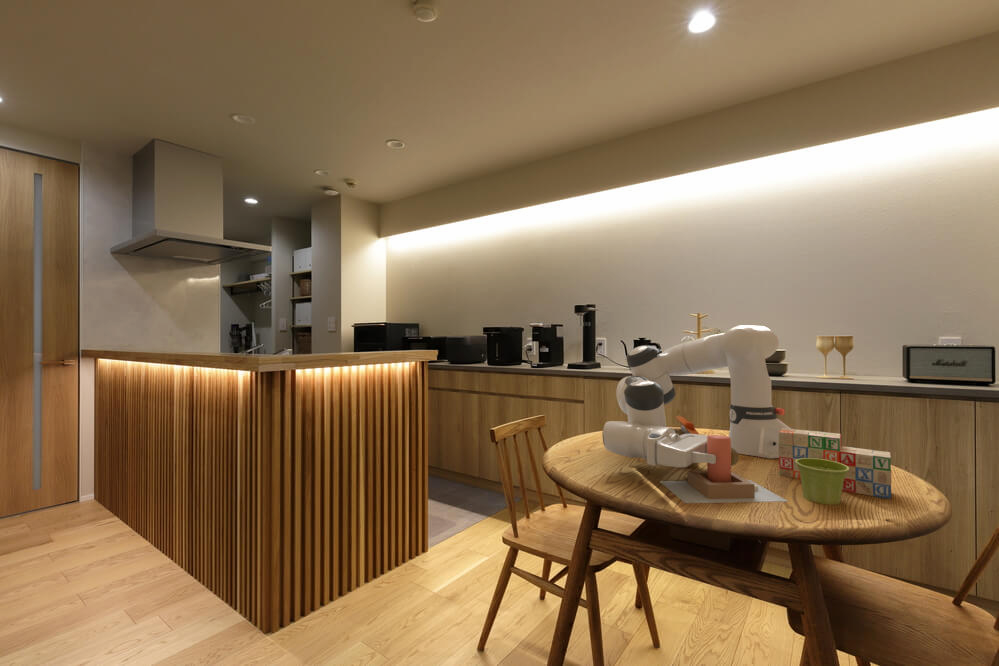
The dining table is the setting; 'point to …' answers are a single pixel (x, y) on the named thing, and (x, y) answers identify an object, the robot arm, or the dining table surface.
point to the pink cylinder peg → (719, 458)
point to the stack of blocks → (837, 460)
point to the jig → (719, 490)
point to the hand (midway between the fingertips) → (723, 455)
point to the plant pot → (822, 479)
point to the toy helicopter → (689, 429)
